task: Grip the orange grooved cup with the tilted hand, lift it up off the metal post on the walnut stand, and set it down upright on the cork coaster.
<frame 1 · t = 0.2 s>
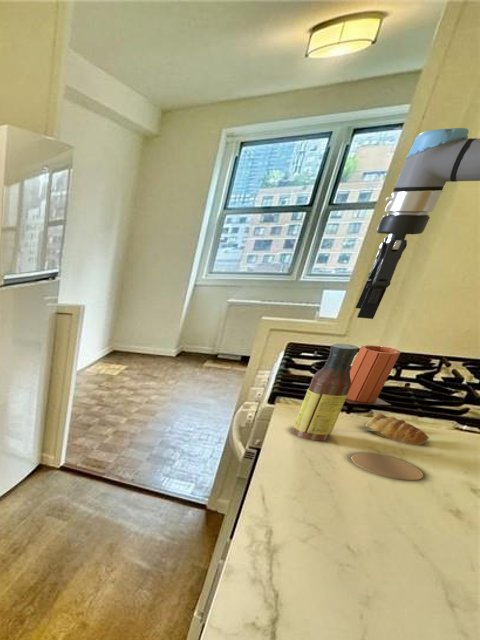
hand: (363, 313, 115), 21 cm above the worktop, tool pointing down, fingers open, 13 cm apart
sauce bottle: (307, 436, 104), on the worktop
post stand: (354, 402, 119), on the worktop
pastry: (389, 436, 104), on the worktop
cork coaster: (384, 468, 92), on the worktop
orange grooved cup: (357, 396, 119), point 1 cm above the worktop, touching post stand
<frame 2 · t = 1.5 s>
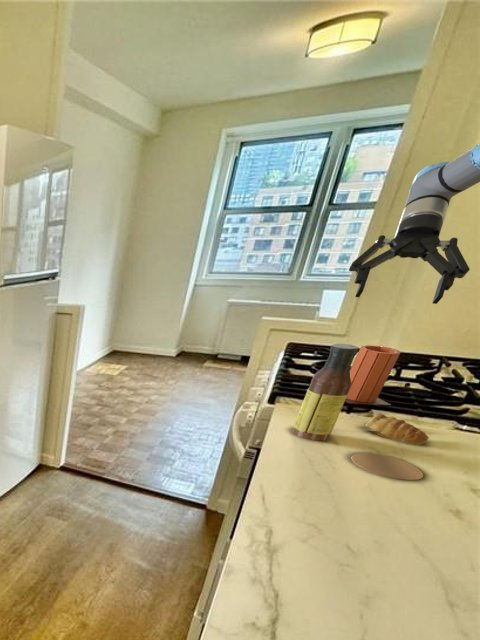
hand: (396, 297, 115), 24 cm above the worktop, tool tilted 45°, fingers open, 13 cm apart
nothing on the worktop moved.
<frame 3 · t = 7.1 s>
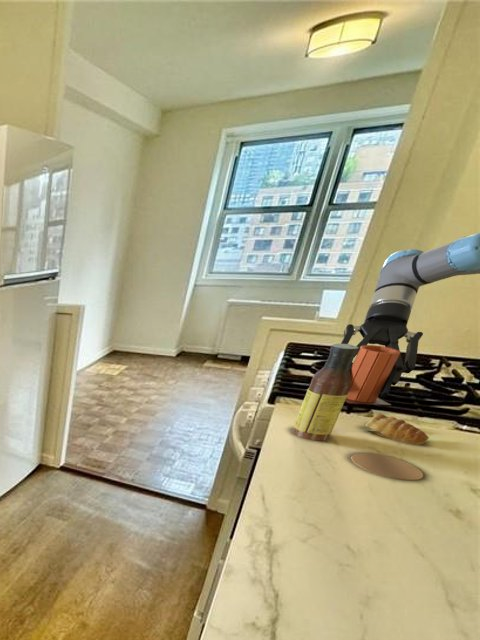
hand: (362, 391, 115), 4 cm above the worktop, tool tilted 45°, fingers closed on orange grooved cup, 7 cm apart
orange grooved cup: (357, 396, 119), point 2 cm above the worktop, touching gripper, post stand
everything else where it was.
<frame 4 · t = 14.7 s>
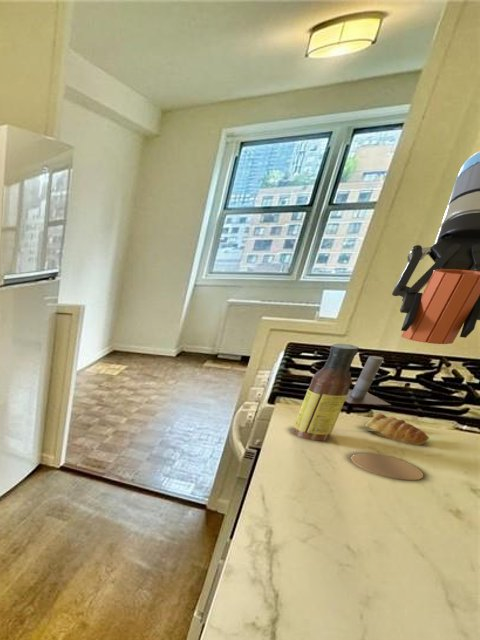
hand: (436, 329, 87), 25 cm above the worktop, tool tilted 45°, fingers closed on orange grooved cup, 7 cm apart
orange grooved cup: (426, 338, 91), point 22 cm above the worktop, touching gripper
everything else where it was.
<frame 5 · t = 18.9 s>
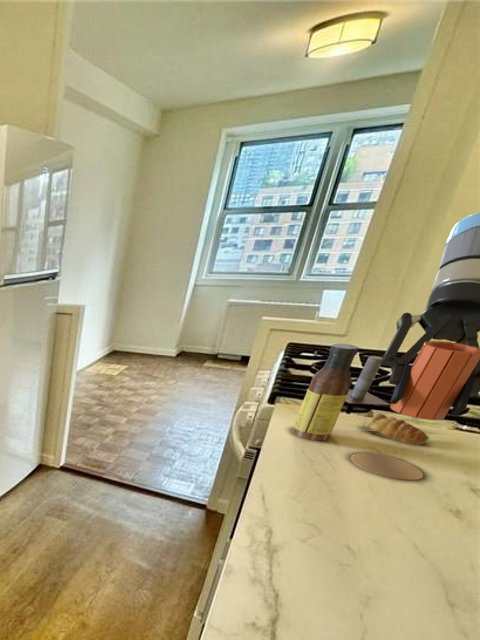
hand: (426, 405, 83), 14 cm above the worktop, tool tilted 45°, fingers closed on orange grooved cup, 7 cm apart
orange grooved cup: (416, 412, 87), point 12 cm above the worktop, touching gripper
everything else where it was.
when the fingers open (3 cm above the worktop, at t = 22.3 s): orange grooved cup stays where it is, resting on cork coaster.
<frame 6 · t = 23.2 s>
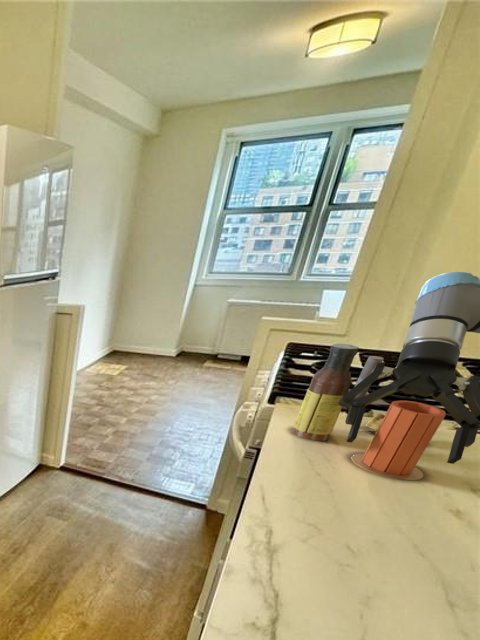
hand: (400, 450, 88), 5 cm above the worktop, tool tilted 45°, fingers open, 13 cm apart
orange grooved cup: (385, 465, 92), point 1 cm above the worktop, touching cork coaster
everything else where it was.
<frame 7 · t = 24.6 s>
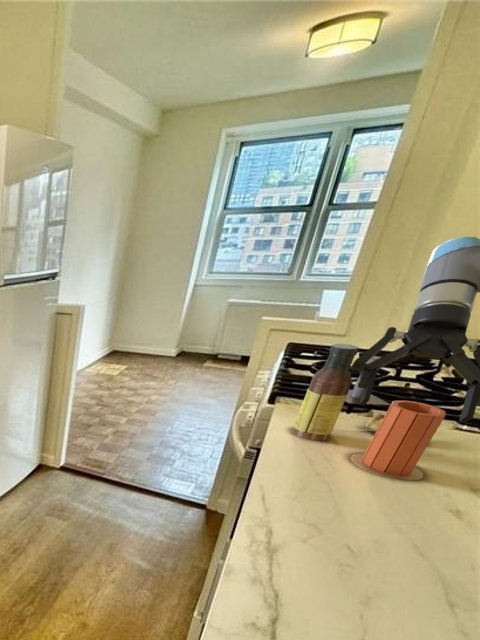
hand: (412, 410, 90), 11 cm above the worktop, tool tilted 45°, fingers open, 13 cm apart
nothing on the worktop moved.
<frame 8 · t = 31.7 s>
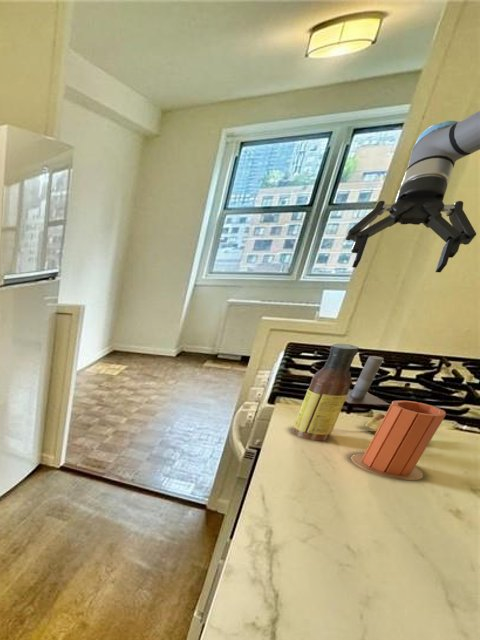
hand: (397, 266, 106), 32 cm above the worktop, tool tilted 45°, fingers open, 13 cm apart
nothing on the worktop moved.
at the end: orange grooved cup 0.1 cm off-centre on the cork coaster, point 0.6 cm above the cork coaster's base; orange grooved cup tilted 0°; the gripper is holding nothing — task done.
